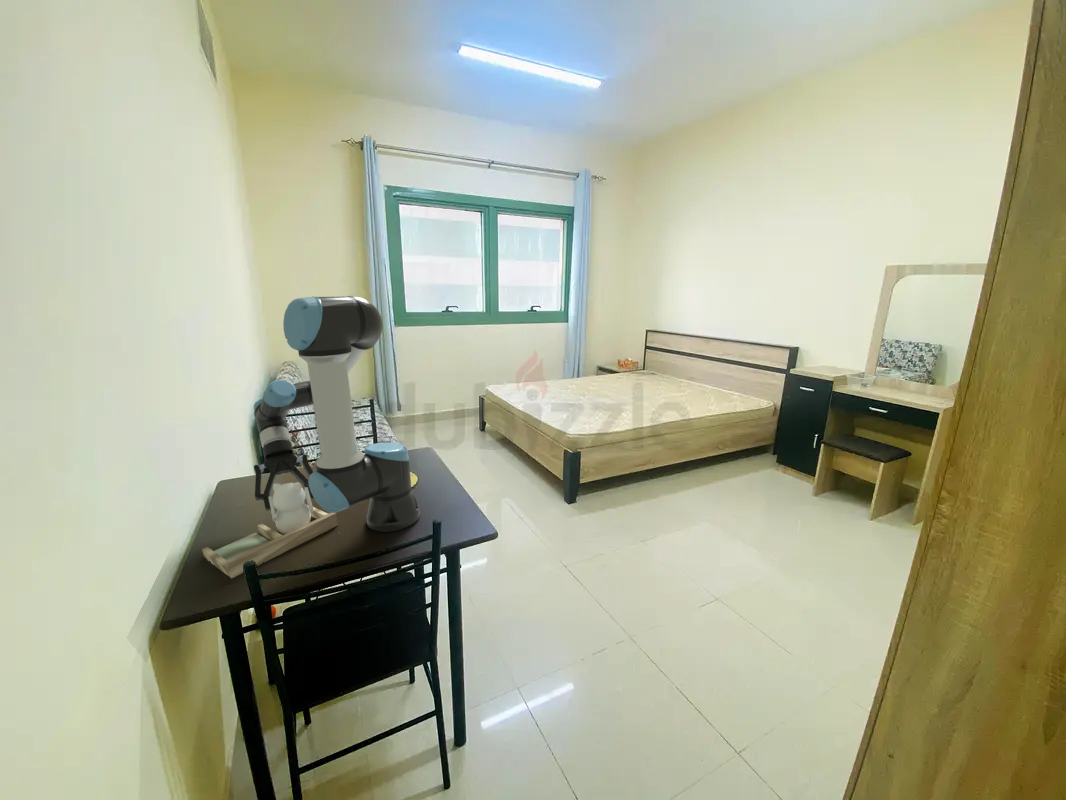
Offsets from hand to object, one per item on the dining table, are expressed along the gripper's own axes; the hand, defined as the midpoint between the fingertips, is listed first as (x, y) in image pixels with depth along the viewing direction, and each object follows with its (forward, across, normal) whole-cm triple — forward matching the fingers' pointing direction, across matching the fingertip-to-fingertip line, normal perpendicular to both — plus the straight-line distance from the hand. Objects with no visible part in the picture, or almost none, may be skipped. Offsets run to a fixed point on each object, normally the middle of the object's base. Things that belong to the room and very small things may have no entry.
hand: (293, 514), depth 118 cm
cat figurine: (+2, 0, -6) cm, 7 cm away
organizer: (+4, +5, -4) cm, 8 cm away
